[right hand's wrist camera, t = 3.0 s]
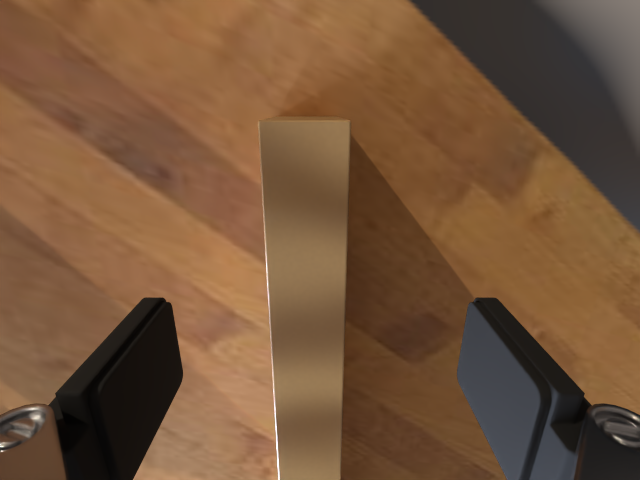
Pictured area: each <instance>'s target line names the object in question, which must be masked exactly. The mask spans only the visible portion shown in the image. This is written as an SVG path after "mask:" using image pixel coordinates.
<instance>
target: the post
mask: <svg viewBox="0 0 640 480" xmlns="http://www.w3.org/2000/svg"><path fill="white" fill-rule="evenodd" d="M258 132H259V150H260V167H261V184H262V201H263V218H264V236H265V253H266V270H267V287H268V305H269V322H270V339H271V356H272V374H273V391H274V408H275V425H276V443H277V460H278V477H279V480H341V451H342V417H343V382H344V348H345V313H346V279H347V244H348V210H349V175H350V141H351V121H350V120H347V119H344V118H341V117H338V116H275V117H271V118H267V119H263V120H259V121H258Z"/></svg>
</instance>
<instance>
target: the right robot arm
mask: <svg viewBox="0 0 640 480" xmlns="http://www.w3.org/2000/svg"><path fill="white" fill-rule="evenodd" d="M182 378H183V369H182V363H181V357H180V351H179V345H178V339H177V333H176V327H175V321H174V315H173V310H172V305H171V303H170V302H166V300H165V299H164V298H143V299H142V300H141V301H140V302H139V303H138V304H137V305H136V307H135V308H134V309H133V310H132V311H131V312H130V313H129V314H128V315H127V316H126V317H125V318H124V320H123V321H122V322H121V323H120V324H119V325H118V326H117V327H116V328H115V329H114V330H113V331H112V333H111V334H110V335H109V336H108V337H107V338H106V339H105V340H104V341H103V342H102V343H101V344H100V346H99V347H98V348H97V349H96V350H95V351H94V352H93V353H92V354H91V355H90V356H89V357H88V359H87V360H86V361H85V362H84V363H83V364H82V365H81V366H80V367H79V368H78V369H77V370H76V372H75V373H74V374H73V375H72V376H71V377H70V378H69V379H68V380H67V381H66V382H65V383H64V385H63V386H62V387H61V388H60V389H59V390H58V391H57V392H56V393H55V394H56V398H55V399H54V400H53V401H52V402H51V403H50V404H49V405H46V404H30V405H24V406H21V407H18V408H15V409H12V410H10V411H8V412H6V413H4V414H2V415H0V480H133V478H134V476H135V474H136V472H137V470H138V468H139V466H140V464H141V462H142V460H143V458H144V456H145V454H146V452H147V450H148V448H149V446H150V444H151V442H152V440H153V438H154V436H155V434H156V432H157V430H158V428H159V426H160V425H161V423H162V421H163V419H164V417H165V415H166V413H167V411H168V409H169V407H170V405H171V403H172V401H173V399H174V397H175V395H176V393H177V391H178V389H179V387H180V385H181V382H182ZM457 378H458V382H459V385H460V387H461V389H462V391H463V393H464V395H465V397H466V399H467V401H468V403H469V405H470V407H471V409H472V411H473V413H474V415H475V417H476V419H477V421H478V423H479V425H480V426H481V428H482V430H483V432H484V434H485V436H486V438H487V440H488V442H489V444H490V446H491V448H492V450H493V452H494V454H495V456H496V458H497V460H498V462H499V464H500V466H501V468H502V470H503V472H504V474H505V476H506V478H507V480H640V415H638V414H636V413H634V412H632V411H630V410H628V409H625V408H622V407H619V406H616V405H610V404H594V405H591V404H590V403H589V402H588V401H587V400H586V399H585V398H584V394H585V393H584V392H583V391H582V390H581V389H580V388H579V387H578V386H577V385H576V383H575V382H574V381H573V380H572V379H571V378H570V377H569V376H568V375H567V374H566V373H565V372H564V370H563V369H562V368H561V367H560V366H559V365H558V364H557V363H556V362H555V361H554V360H553V359H552V357H551V356H550V355H549V354H548V353H547V352H546V351H545V350H544V349H543V348H542V347H541V346H540V344H539V343H538V342H537V341H536V340H535V339H534V338H533V337H532V336H531V335H530V334H529V333H528V331H527V330H526V329H525V328H524V327H523V326H522V325H521V324H520V323H519V322H518V321H517V320H516V318H515V317H514V316H513V315H512V314H511V313H510V312H509V311H508V310H507V309H506V308H505V307H504V305H503V304H502V303H501V302H500V301H499V300H498V299H497V298H476V299H475V300H474V302H470V303H469V305H468V310H467V315H466V321H465V327H464V333H463V339H462V345H461V351H460V357H459V363H458V369H457Z"/></svg>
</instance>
